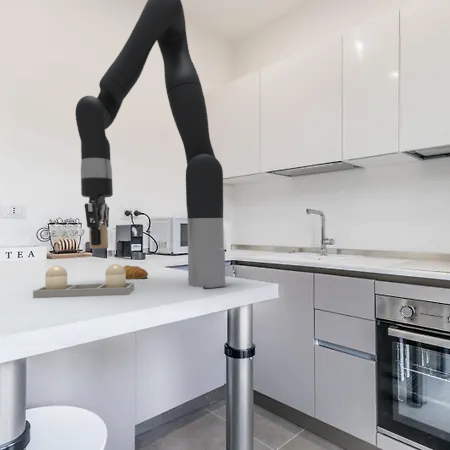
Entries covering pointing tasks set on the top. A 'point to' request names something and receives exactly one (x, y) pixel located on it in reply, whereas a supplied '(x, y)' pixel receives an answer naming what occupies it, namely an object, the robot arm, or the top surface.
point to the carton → (83, 291)
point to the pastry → (135, 272)
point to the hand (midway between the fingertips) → (99, 244)
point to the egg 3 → (115, 276)
